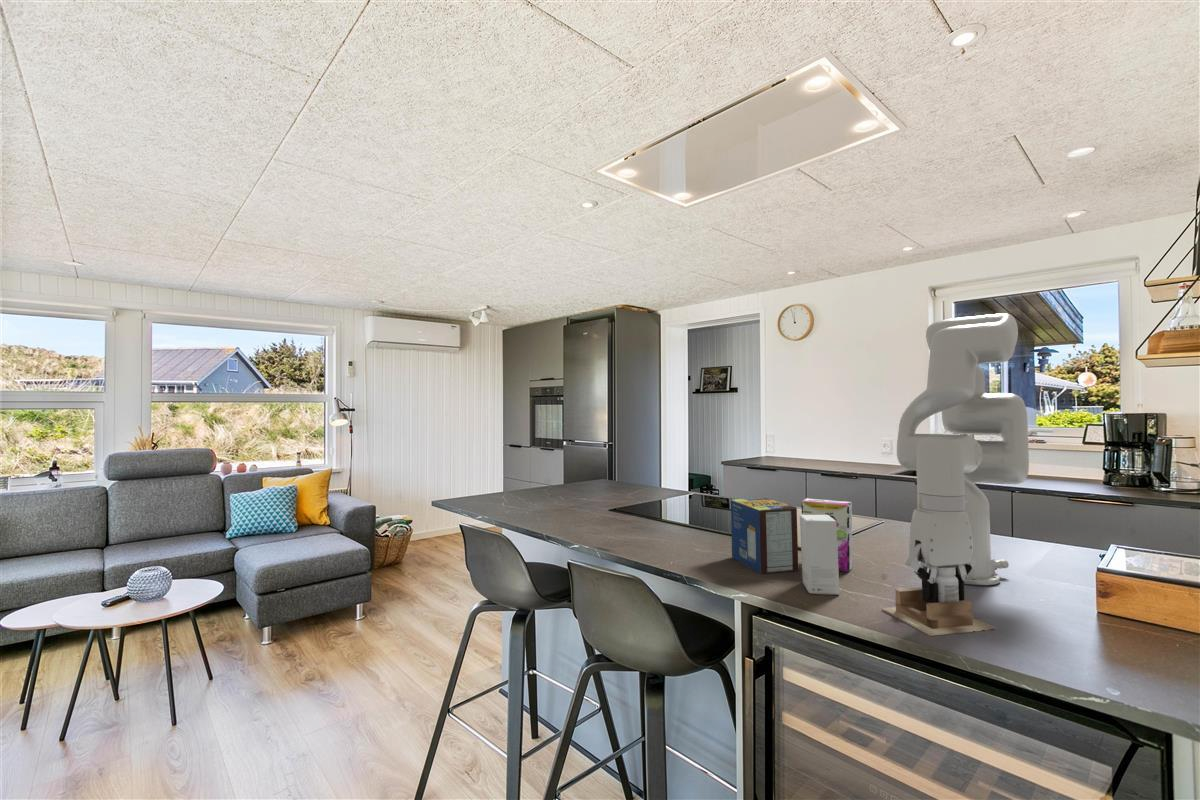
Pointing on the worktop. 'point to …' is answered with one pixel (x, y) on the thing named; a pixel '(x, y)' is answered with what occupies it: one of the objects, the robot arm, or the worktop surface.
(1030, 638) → the worktop surface
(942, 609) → the cradle
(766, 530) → the protein box
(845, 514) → the candy bar box
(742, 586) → the worktop surface
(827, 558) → the skincare box
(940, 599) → the pill bottle
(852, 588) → the worktop surface
